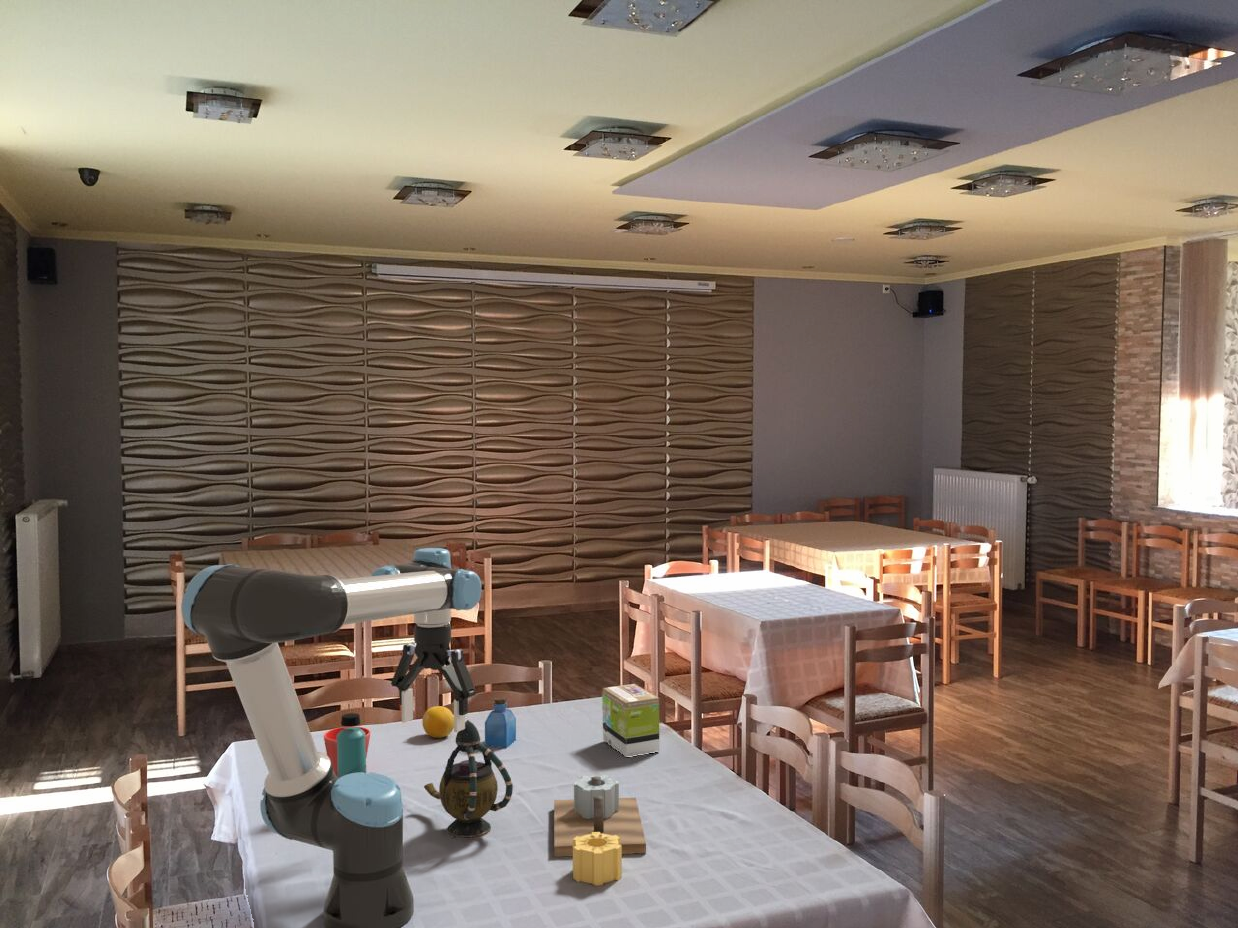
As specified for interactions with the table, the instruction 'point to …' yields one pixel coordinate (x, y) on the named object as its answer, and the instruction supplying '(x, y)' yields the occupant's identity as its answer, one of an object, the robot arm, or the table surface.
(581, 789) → the pale grey gear
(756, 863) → the table surface
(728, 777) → the table surface
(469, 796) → the teapot
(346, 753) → the beverage bottle
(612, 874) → the ochre gear
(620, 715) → the tea box
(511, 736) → the perfume bottle
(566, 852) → the gear board
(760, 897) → the table surface
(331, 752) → the flower pot
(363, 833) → the robot arm
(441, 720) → the fruit
